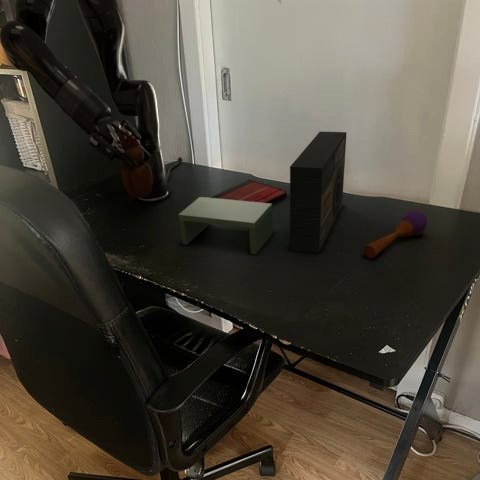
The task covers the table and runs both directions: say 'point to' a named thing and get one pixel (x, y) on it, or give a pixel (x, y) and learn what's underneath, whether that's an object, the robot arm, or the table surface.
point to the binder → (252, 192)
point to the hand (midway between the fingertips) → (142, 163)
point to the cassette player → (316, 191)
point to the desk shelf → (228, 219)
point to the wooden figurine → (141, 177)
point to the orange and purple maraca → (398, 232)
